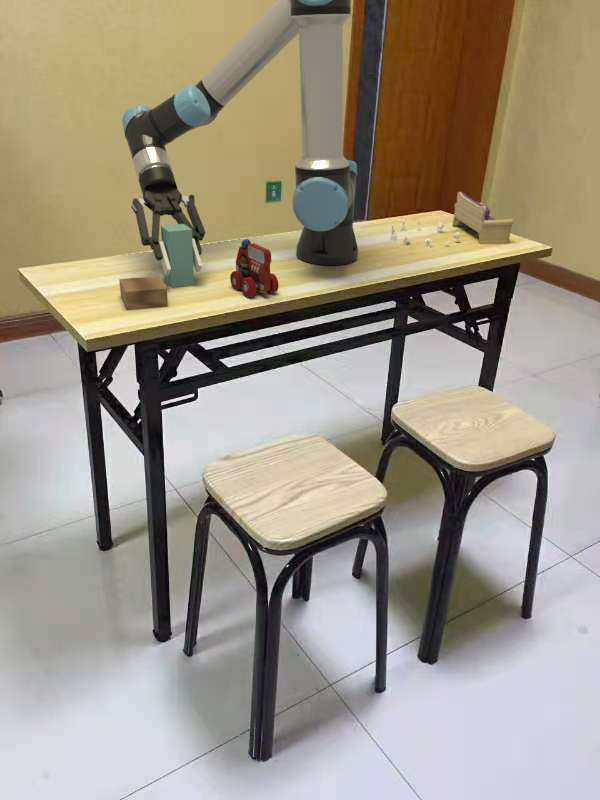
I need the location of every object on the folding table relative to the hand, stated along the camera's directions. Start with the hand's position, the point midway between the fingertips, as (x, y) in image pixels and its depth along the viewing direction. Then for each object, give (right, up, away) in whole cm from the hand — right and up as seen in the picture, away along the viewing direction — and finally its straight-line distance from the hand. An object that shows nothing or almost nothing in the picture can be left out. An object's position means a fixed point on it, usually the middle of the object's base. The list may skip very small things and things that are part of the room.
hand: (183, 270), depth 143 cm
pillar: (-2, -2, +5) cm, 5 cm away
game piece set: (+58, +17, +46) cm, 76 cm away
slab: (-7, -8, -6) cm, 12 cm away
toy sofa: (+75, +20, +51) cm, 93 cm away
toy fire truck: (+14, -4, +3) cm, 15 cm away
